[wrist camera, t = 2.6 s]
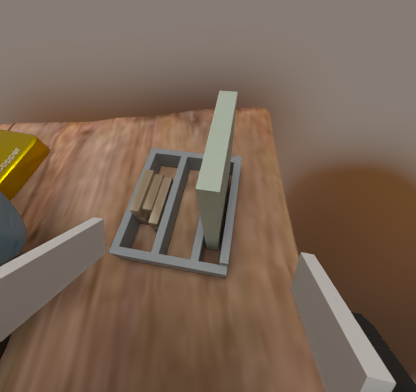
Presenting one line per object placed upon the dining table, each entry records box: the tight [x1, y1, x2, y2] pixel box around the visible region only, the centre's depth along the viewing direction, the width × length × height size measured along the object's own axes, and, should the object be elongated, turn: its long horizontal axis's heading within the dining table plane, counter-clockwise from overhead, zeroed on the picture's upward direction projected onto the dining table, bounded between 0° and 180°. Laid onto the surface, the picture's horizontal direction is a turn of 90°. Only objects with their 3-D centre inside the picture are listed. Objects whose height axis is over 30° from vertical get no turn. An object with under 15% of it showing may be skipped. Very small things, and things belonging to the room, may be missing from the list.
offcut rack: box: [109, 148, 242, 278], centre depth 35 cm, size 18×21×6 cm
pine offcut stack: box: [129, 170, 173, 232], centre depth 35 cm, size 4×9×6 cm, turn 170°
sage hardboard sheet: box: [196, 91, 238, 251], centre depth 28 cm, size 2×13×20 cm, turn 170°
